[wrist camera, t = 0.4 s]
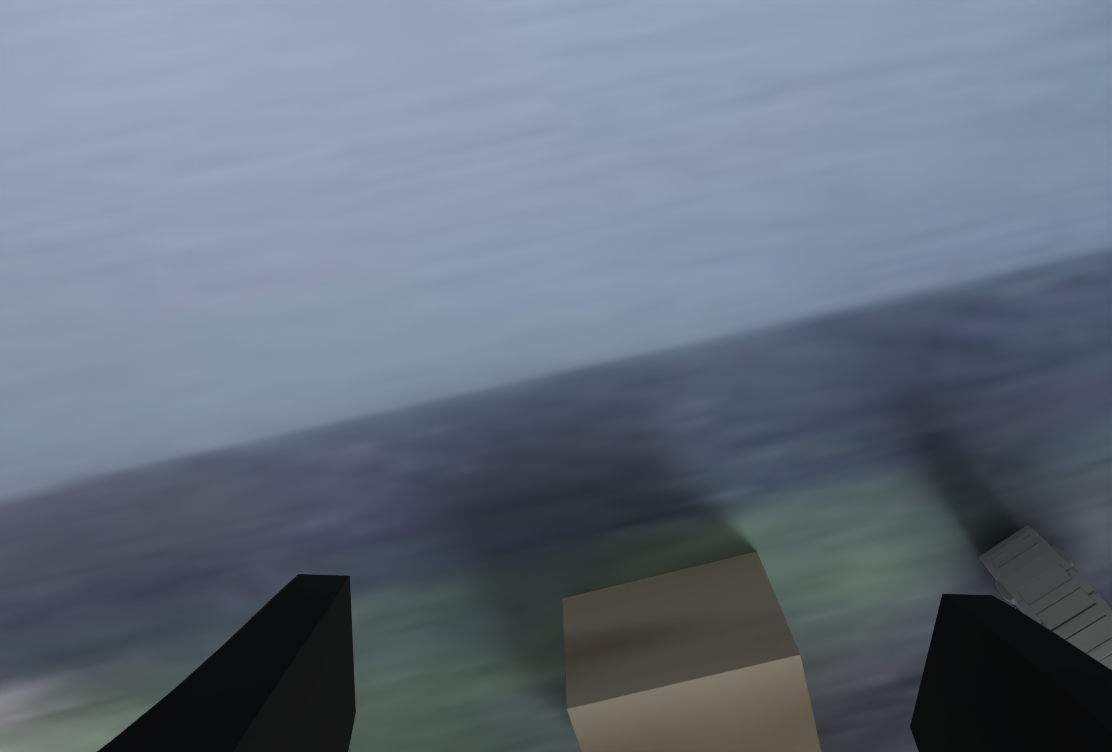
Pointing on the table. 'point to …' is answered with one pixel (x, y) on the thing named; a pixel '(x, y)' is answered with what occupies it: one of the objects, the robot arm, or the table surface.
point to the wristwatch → (1051, 592)
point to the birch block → (686, 665)
